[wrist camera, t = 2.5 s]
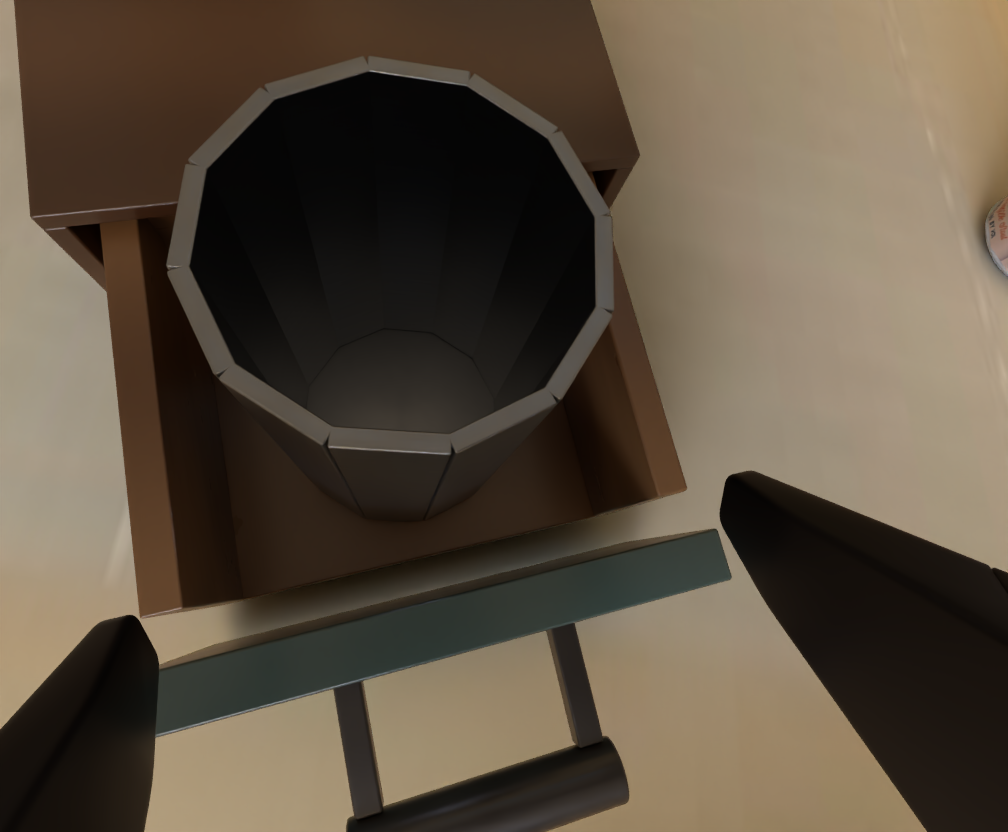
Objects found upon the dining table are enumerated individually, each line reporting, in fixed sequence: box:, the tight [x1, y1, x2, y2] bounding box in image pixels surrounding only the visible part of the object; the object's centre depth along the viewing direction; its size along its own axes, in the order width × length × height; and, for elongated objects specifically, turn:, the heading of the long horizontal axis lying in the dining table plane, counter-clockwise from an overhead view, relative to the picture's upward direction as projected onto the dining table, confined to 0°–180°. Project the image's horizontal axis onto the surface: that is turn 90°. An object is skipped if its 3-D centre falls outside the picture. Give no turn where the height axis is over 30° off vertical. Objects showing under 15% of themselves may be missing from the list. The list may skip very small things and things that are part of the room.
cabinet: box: [14, 0, 640, 292], centre depth 19 cm, size 13×14×8 cm
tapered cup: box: [166, 56, 614, 521], centre depth 14 cm, size 6×6×11 cm
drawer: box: [100, 171, 732, 832], centre depth 16 cm, size 16×13×6 cm
